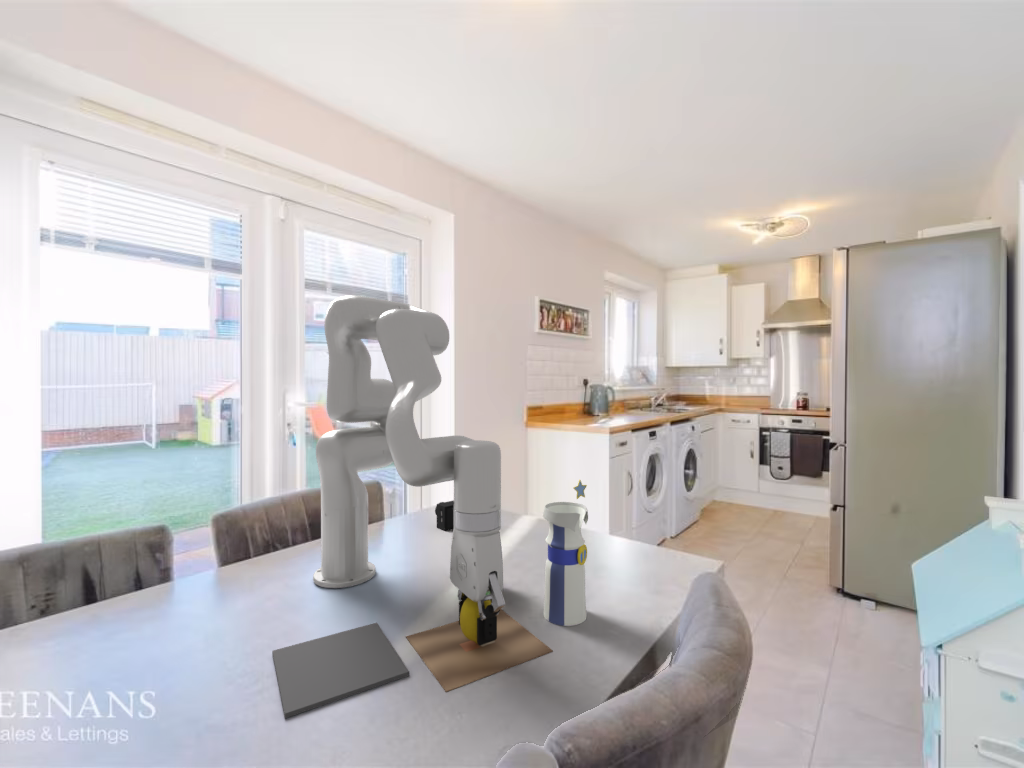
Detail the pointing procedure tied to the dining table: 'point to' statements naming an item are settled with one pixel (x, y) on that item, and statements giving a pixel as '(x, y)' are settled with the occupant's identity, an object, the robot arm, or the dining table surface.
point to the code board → (475, 651)
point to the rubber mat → (335, 668)
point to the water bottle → (565, 562)
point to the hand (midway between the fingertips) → (477, 631)
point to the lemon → (470, 618)
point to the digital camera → (445, 515)
